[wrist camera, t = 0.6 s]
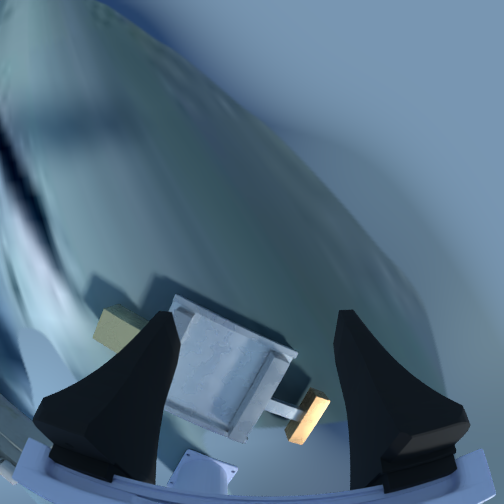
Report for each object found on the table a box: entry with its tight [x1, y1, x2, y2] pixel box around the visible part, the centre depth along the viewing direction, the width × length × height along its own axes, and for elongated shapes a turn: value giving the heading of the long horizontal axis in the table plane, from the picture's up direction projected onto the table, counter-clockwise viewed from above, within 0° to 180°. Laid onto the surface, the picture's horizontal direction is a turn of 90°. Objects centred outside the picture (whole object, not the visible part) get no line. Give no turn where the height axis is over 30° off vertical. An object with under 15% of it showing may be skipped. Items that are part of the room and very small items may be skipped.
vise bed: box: [164, 294, 298, 444], centre depth 33 cm, size 14×16×5 cm
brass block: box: [93, 304, 149, 353], centre depth 33 cm, size 4×5×5 cm
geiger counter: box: [0, 394, 53, 485], centre depth 26 cm, size 14×6×25 cm
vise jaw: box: [228, 351, 330, 445], centre depth 33 cm, size 12×9×3 cm
